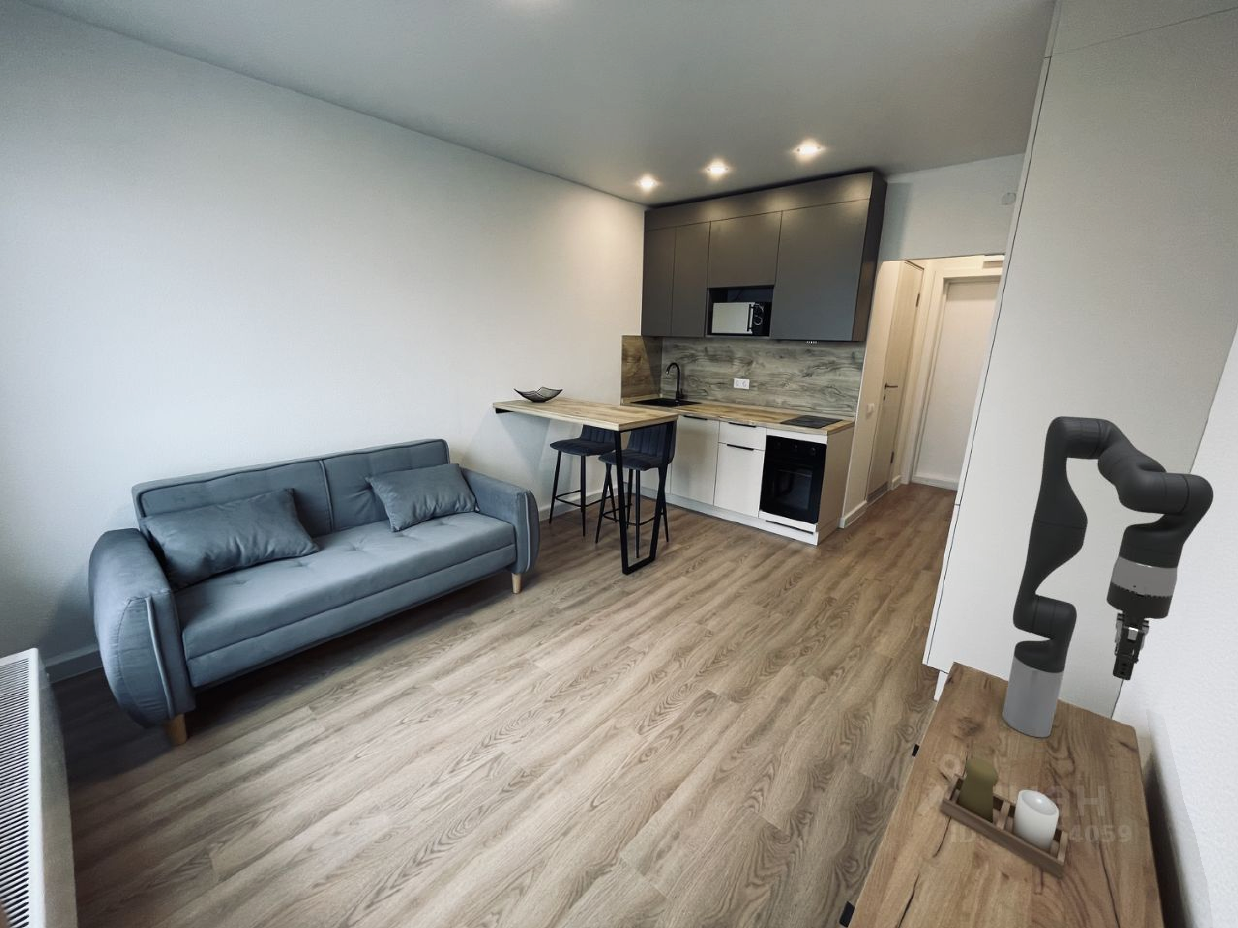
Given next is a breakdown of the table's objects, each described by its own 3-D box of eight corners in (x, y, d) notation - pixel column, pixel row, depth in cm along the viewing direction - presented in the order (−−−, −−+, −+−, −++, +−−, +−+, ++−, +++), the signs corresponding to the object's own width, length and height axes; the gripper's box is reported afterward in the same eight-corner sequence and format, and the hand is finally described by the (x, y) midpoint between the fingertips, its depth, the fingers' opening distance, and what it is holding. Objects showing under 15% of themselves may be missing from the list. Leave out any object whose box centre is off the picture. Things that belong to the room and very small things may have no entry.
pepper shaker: (999, 829, 92) (1009, 780, 89) (963, 822, 93) (972, 774, 91) (983, 801, 98) (992, 754, 95) (949, 795, 99) (958, 749, 97)
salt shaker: (1013, 822, 93) (1022, 777, 91) (1051, 842, 89) (1062, 796, 87) (1008, 841, 89) (1017, 795, 87) (1048, 863, 85) (1059, 815, 83)
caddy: (952, 787, 102) (954, 772, 101) (1064, 846, 89) (1068, 830, 89) (940, 814, 96) (942, 799, 95) (1059, 882, 83) (1063, 865, 82)
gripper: (1112, 566, 92) (1095, 643, 96) (1109, 590, 83) (1090, 675, 86) (1171, 578, 87) (1151, 660, 90) (1176, 605, 77) (1152, 695, 81)
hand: (1121, 667), depth 88 cm, fingers open, 8 cm apart
